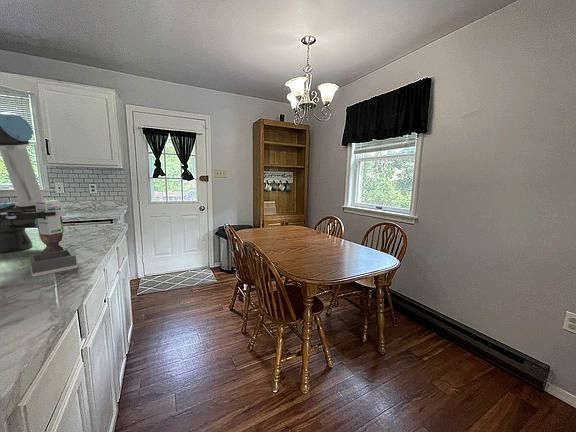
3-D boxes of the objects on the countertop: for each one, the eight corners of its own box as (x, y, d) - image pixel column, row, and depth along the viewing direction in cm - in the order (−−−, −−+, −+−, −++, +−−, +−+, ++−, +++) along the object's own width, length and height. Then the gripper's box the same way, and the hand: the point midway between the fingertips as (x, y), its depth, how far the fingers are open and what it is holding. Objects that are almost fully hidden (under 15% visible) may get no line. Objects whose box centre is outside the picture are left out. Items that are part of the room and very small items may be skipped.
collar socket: (30, 268, 103) (28, 255, 102) (71, 260, 112) (70, 249, 112) (32, 276, 94) (30, 263, 93) (77, 267, 104) (76, 255, 103)
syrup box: (50, 235, 109) (45, 201, 106) (39, 234, 110) (34, 200, 108) (64, 232, 114) (60, 199, 112) (53, 231, 115) (49, 199, 113)
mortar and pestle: (42, 249, 128) (36, 210, 124) (65, 246, 133) (60, 208, 130) (41, 255, 119) (34, 213, 116) (65, 252, 125) (60, 211, 121)
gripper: (-12, 223, 105) (61, 217, 122) (-15, 231, 91) (69, 222, 108) (-16, 205, 104) (59, 201, 120) (-18, 210, 90) (66, 205, 107)
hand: (64, 211), depth 114 cm, fingers closed on syrup box, 7 cm apart
